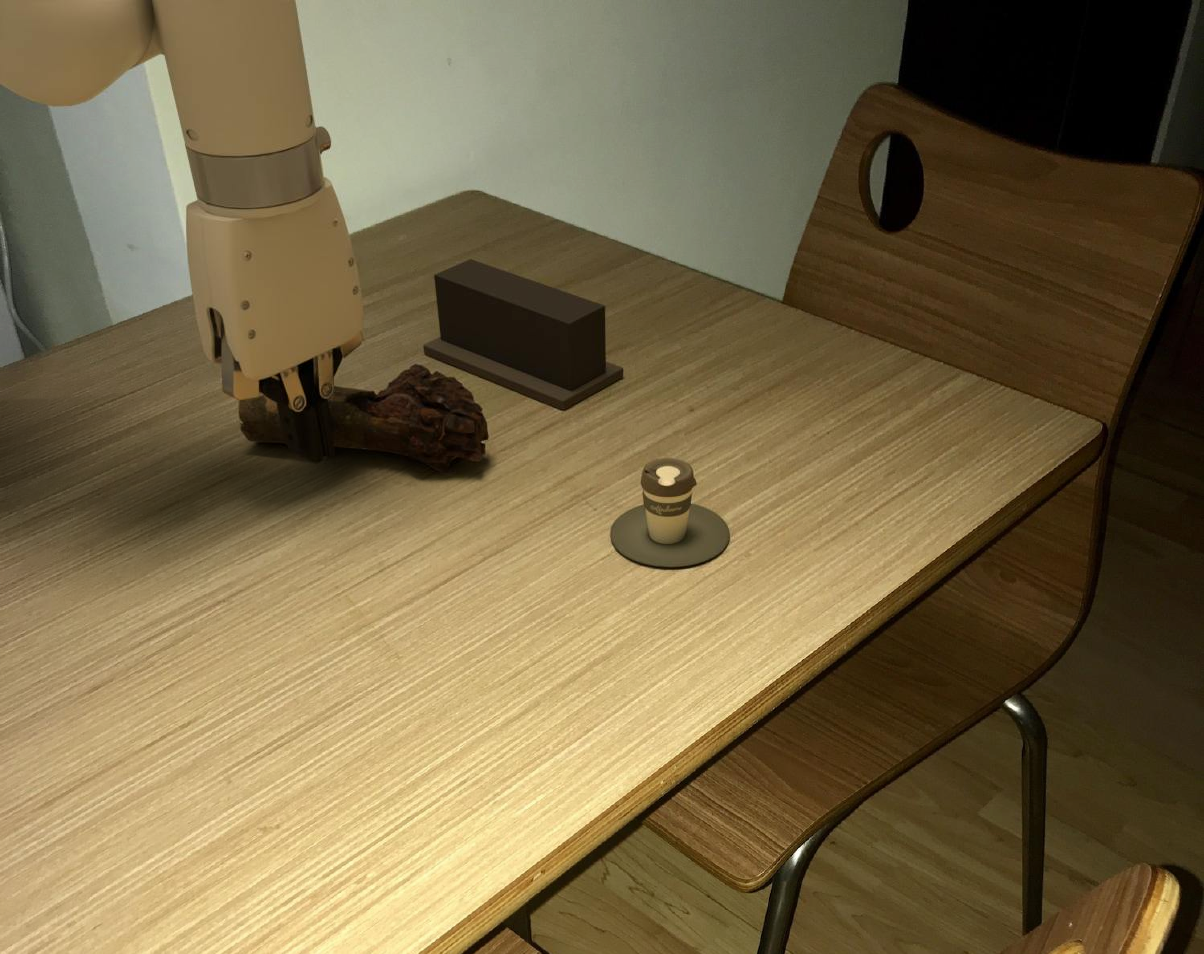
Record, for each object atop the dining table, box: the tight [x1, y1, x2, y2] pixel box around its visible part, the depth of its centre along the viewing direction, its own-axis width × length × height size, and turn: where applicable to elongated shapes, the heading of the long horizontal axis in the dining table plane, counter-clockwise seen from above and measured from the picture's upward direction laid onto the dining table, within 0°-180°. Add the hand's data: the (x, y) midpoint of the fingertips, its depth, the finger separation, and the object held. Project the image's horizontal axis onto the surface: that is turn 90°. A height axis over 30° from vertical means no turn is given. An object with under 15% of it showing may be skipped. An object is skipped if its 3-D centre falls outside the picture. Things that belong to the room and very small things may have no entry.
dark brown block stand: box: [422, 258, 624, 411], centre depth 99 cm, size 15×7×6 cm, turn 49°
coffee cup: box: [609, 457, 731, 569], centre depth 82 cm, size 12×12×5 cm
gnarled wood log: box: [237, 363, 490, 473], centre depth 90 cm, size 18×7×6 cm, turn 73°
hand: (312, 452), depth 88 cm, fingers closed
